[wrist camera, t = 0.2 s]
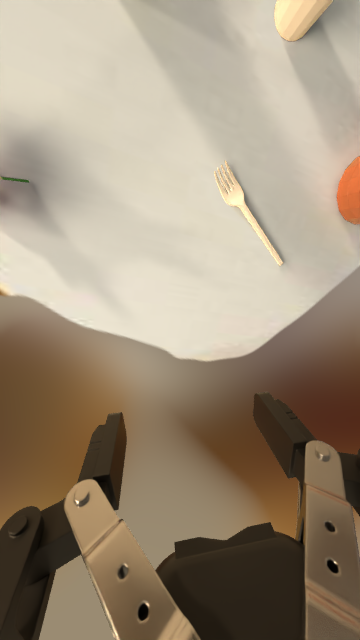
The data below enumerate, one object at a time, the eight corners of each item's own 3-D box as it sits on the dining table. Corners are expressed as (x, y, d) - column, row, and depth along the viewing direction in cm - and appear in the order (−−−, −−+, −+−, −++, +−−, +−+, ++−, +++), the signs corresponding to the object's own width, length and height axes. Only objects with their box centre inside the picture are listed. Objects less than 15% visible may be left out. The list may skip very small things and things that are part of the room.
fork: (273, 270, 41) (278, 271, 39) (208, 177, 34) (211, 173, 33) (286, 258, 40) (292, 259, 39) (224, 162, 34) (228, 157, 32)
